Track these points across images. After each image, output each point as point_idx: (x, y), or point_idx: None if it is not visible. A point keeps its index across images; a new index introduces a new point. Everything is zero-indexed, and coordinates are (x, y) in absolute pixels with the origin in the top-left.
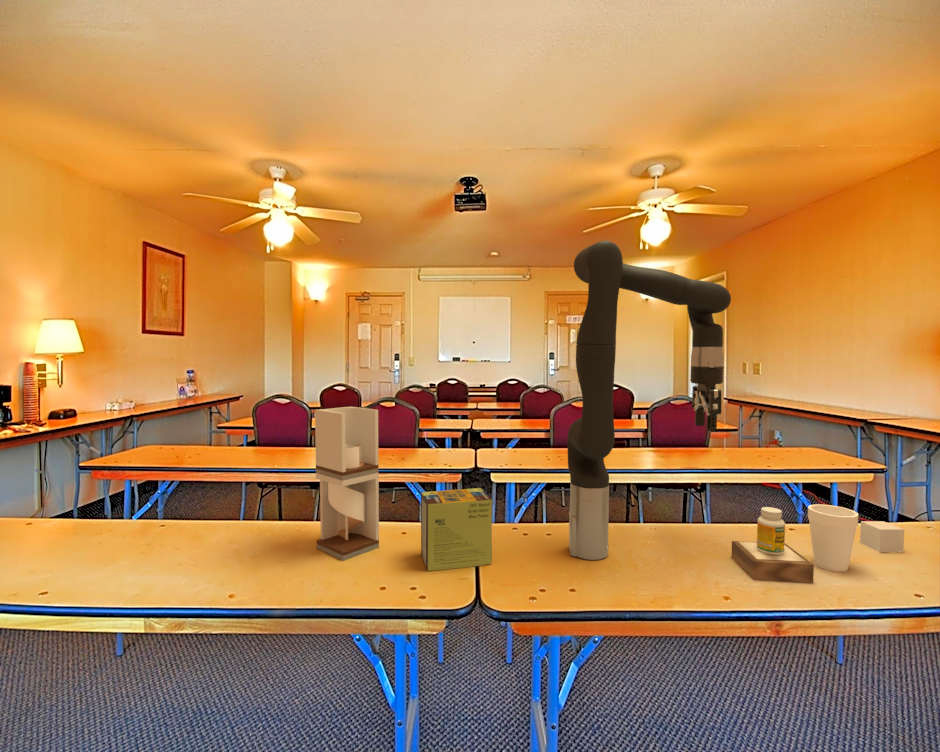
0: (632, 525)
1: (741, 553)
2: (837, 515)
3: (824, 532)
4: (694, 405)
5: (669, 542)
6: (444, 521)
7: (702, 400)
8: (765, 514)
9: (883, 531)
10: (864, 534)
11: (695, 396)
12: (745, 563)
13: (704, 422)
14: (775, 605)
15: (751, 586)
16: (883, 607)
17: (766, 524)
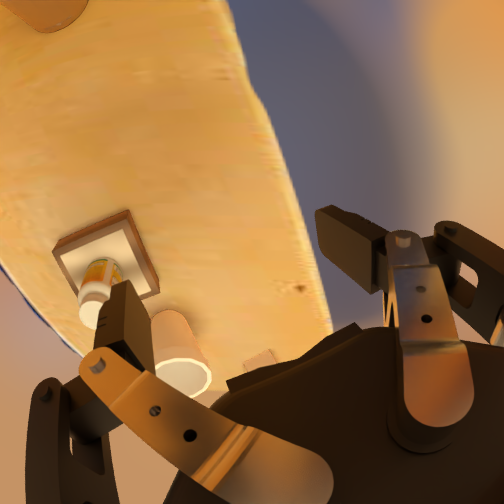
0: (227, 40)
1: (90, 232)
2: (201, 375)
3: None
4: (442, 243)
5: (154, 107)
6: None
7: (175, 429)
8: (81, 302)
9: None
10: (268, 361)
11: (496, 286)
12: (78, 234)
13: (330, 259)
14: (8, 262)
15: (37, 238)
16: (76, 351)
17: (78, 294)
